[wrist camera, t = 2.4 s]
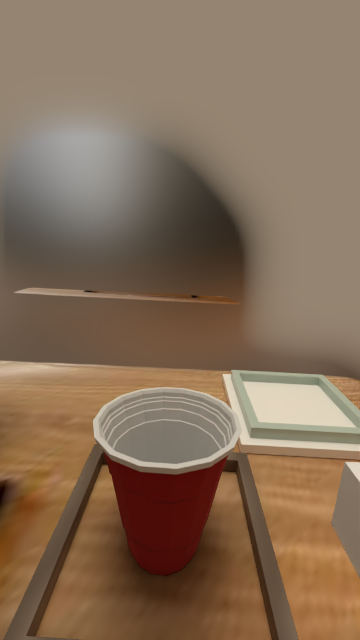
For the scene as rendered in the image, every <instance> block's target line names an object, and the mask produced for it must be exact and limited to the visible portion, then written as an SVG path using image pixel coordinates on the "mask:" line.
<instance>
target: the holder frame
mask: <svg viewBox="0 0 360 640" xmlns="http://www.w3.org/2000/svg"><path fill="white" fill-rule="evenodd" d="M102 464H108V463H107V461H106V460H105V455H104V452H103V451H102V449H101V448H100V447H99V446H98V445H97V444H95V445H94V447H93V449H92V451H91V453H90V455H89V457H88V460H87V462H86V464H85V466H84V468H83V470H82V472H81V475H80V477H79V479H78V481H77V483H76V485H75V487H74V490H73V492H72V494H71V496H70V498H69V500H68V502H67V505H66V507H65V509H64V511H63V513H62V515H61V517H60V520H59V522H58V524H57V526H56V528H55V530H54V532H53V535H52V537H51V539H50V541H49V543H48V545H47V547H46V550H45V552H44V554H43V556H42V558H41V560H40V562H39V565H38V567H37V569H36V571H35V573H34V575H33V577H32V579H31V582H30V584H29V586H28V588H27V590H26V592H25V594H24V597H23V599H22V601H21V603H20V605H19V607H18V609H17V612H16V614H15V616H14V618H13V620H12V622H11V624H10V627H9V629H8V631H7V633H6V635H5V637H4V639H3V640H78V639H63V638H49V637H35V635H36V632H37V629H38V627H39V624H40V622H41V619H42V617H43V614H44V612H45V609H46V606H47V604H48V601H49V599H50V596H51V594H52V591H53V588H54V586H55V583H56V581H57V578H58V576H59V573H60V571H61V568H62V565H63V563H64V560H65V558H66V555H67V553H68V550H69V548H70V545H71V542H72V540H73V537H74V535H75V532H76V530H77V527H78V525H79V522H80V519H81V517H82V514H83V512H84V509H85V507H86V504H87V502H88V499H89V496H90V494H91V491H92V489H93V486H94V484H95V481H96V478H97V476H98V473H99V471H100V468H101V466H102ZM223 471H234V472H237V477H238V482H239V486H240V491H241V496H242V501H243V505H244V510H245V515H246V519H247V524H248V529H249V533H250V538H251V543H252V547H253V552H254V557H255V561H256V566H257V571H258V576H259V580H260V585H261V590H262V594H263V599H264V604H265V608H266V613H267V618H268V622H269V627H270V632H271V636H272V640H299V639H298V635H297V632H296V628H295V625H294V621H293V617H292V614H291V610H290V607H289V603H288V600H287V596H286V592H285V589H284V585H283V582H282V578H281V575H280V571H279V568H278V564H277V560H276V557H275V553H274V550H273V546H272V543H271V539H270V535H269V532H268V528H267V525H266V521H265V518H264V514H263V511H262V507H261V503H260V500H259V496H258V493H257V489H256V486H255V482H254V478H253V475H252V471H251V468H250V464H249V461H248V457H247V453H234V452H232V453H231V454H229V456H228V458H227V460H226V464H225V466H224V469H223Z"/></svg>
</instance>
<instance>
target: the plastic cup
mask: <svg viewBox="0 0 360 640" xmlns="http://www.w3.org/2000/svg"><path fill="white" fill-rule="evenodd" d="M93 426H94V438H95V441H96V443H97V444H98V446H99V447H100V448H101V449H102V451H103V452H104V455H105V460H106V461H107V463H108V467H109V472H110V474H111V475H112V480H113V484H114V489H115V493H116V497H117V502H118V506H119V511H120V515H121V520H122V524H123V527H124V529H125V531H126V536H127V541H128V545H129V550H130V551H131V553H132V555H133V557H134V559H135V560H136V562H137V563H138V565H139V566H140V567H141V568H143V569H145V570H146V571H148V572H149V573H151V574H156V575H165V576H167V575H170V574H172V573H175V572H178V571H181V570H182V569H183V568H184V567H185V566H186V565H187V564H188V563H189V562H190V561H191V559H192V557H193V556H194V554H195V551H196V549H197V546H198V544H199V541H200V538H201V535H202V531H203V528H204V526H205V524H206V521H207V519H208V516H209V512H210V509H211V506H212V503H213V499H214V496H215V493H216V489H217V486H218V483H219V480H220V476H221V473H222V471H223V469H224V466H225V464H226V460H227V458H228V456H229V454H231V453H232V451H233V449H234V447H235V445H236V443H237V441H238V438H239V436H240V434H241V432H242V429H241V425H240V422H239V418H238V415H237V414H236V413H235V412H234V411H233V410H232V409H231V408H230V407H229V406H228V405H227V404H226V403H225V402H223V401H221V400H219V399H217V398H215V397H213V396H211V395H208V394H206V393H202V392H198V391H194V390H190V389H185V388H169V387H159V388H150V389H141V390H137V391H134V392H131V393H128V394H124V395H121V396H119V397H117V398H116V399H114V400H112V401H111V402H109V403H108V404H106V405H104V406H103V407H102V408H101V410H100V411H99V413H98V414H97V416H96V417H95V419H94V420H93Z"/></svg>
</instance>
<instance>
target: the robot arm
mask: <svg viewBox="0 0 360 640" xmlns="http://www.w3.org/2000/svg"><path fill="white" fill-rule="evenodd" d="M331 524H332V526H333V528H334V530H335V532H336V533H337V535H338V537H339V539H340V541H341V543H342V545H343V547H344V549H345V551H346V553H347V555H348V556H349V558H350V560H351V562H352V564H353V566H354V568H355V570H356V572H357V574H358V576H359V578H360V463H356V462H345V464H344V469H343V473H342V478H341V482H340V486H339V491H338V495H337V500H336V504H335V509H334V513H333V518H332V522H331Z"/></svg>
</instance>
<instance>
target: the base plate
mask: <svg viewBox="0 0 360 640" xmlns="http://www.w3.org/2000/svg"><path fill="white" fill-rule="evenodd" d="M222 382H223V386H224V390H225V394H226V398H227V401H228V405H229V407H230V408H231V409H232V410H233V411H234V412H235V413H236V414H237V415H238V418H239V422H240V425H241V429H242V432H241V434H240V436H239V438H238V445H239V449H240V453H253V454H270V455H287V456H304V457H321V458H338V459H356V460H360V410H359V409H358V408H357V407H356V406H355V405H354V404H353V403H352V402H350V401H349V400H348V399H347V398H346V397H345V396H344V395H343V394H342V393H341V392H340V391H339V390H338V389H337V388H336V387H335V386H334V385H333V384H332V383H331V382H330V381H329V380H328V379H327V378H326V377H325V376H324V375H316V374H297V373H279V372H260V371H241V370H231V374H223V375H222Z"/></svg>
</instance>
